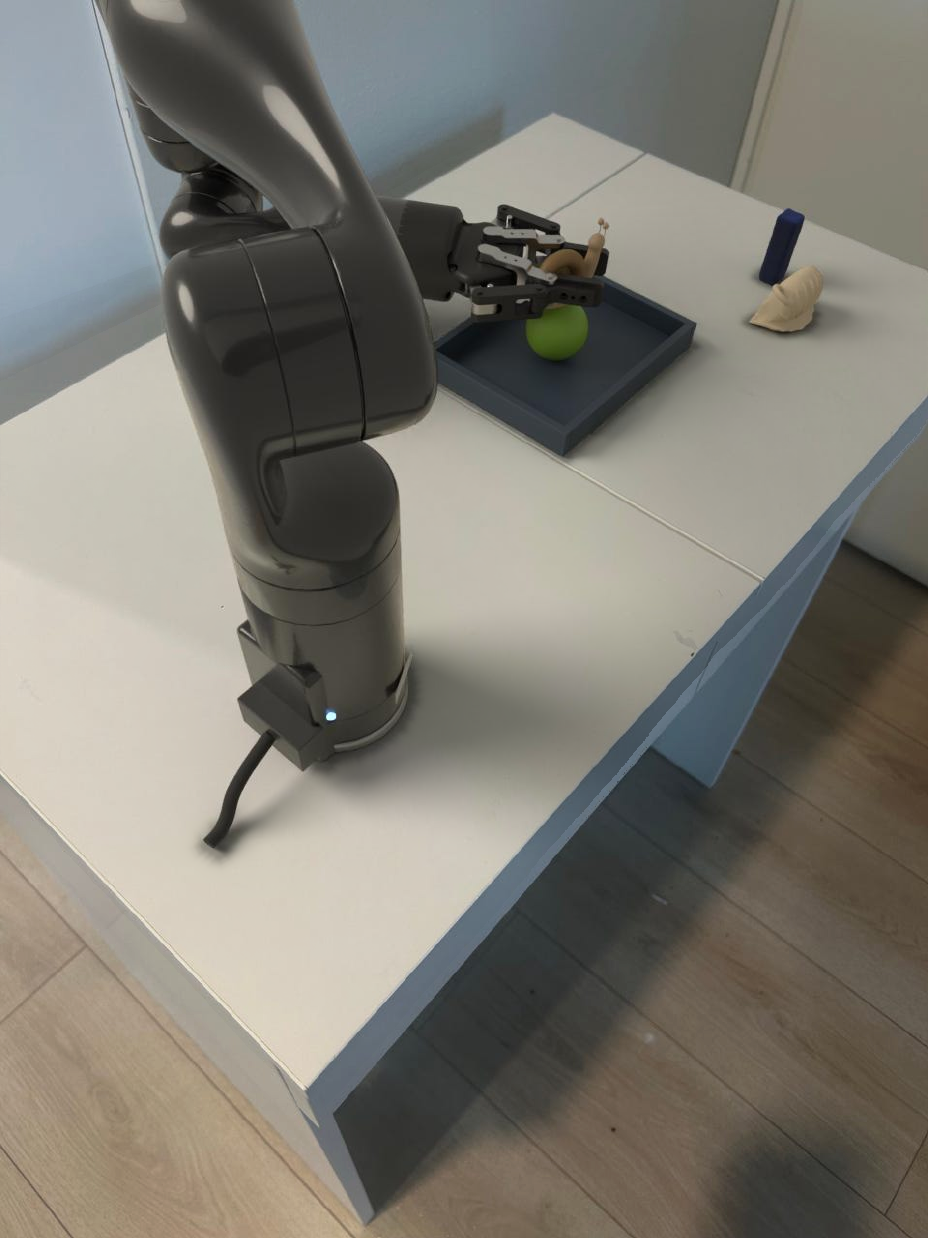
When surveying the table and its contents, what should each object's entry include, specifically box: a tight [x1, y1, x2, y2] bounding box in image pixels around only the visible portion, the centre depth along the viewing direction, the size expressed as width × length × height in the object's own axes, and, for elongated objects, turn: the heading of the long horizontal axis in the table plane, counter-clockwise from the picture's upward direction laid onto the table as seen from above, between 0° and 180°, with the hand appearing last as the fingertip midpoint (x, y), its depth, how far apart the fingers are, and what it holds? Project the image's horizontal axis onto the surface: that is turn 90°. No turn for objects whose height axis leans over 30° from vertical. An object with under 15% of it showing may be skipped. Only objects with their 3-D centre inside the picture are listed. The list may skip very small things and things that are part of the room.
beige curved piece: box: [748, 264, 824, 333], centre depth 87 cm, size 4×8×5 cm, turn 132°
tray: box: [434, 275, 698, 458], centre depth 84 cm, size 20×16×2 cm
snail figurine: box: [526, 217, 610, 361], centre depth 80 cm, size 5×6×12 cm
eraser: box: [758, 207, 806, 287], centre depth 91 cm, size 2×2×7 cm
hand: (603, 277), depth 78 cm, fingers closed on snail figurine, 3 cm apart
